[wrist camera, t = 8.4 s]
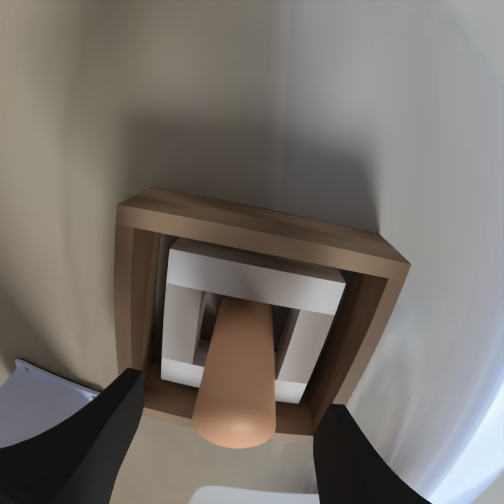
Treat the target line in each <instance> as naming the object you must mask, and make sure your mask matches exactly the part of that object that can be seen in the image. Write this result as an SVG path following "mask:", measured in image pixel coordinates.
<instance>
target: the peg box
mask: <svg viewBox="0 0 504 504" xmlns="http://www.w3.org/2000/svg"><path fill="white" fill-rule="evenodd" d="M161 233H164V234H169V235H174V236H179V238H178V239H177V240H176V242H175V243H174V244H173V245H172V247H171V248H170V250H169V260H168V271H167V282H166V294H165V307H164V322H163V340H162V364H160V363H156V362H153V345H154V317H155V298H156V282H157V269H158V257H159V246H160V236H161ZM410 266H411V264H410V263H409V262H408V261H407V260H406V259H405V258H404V257H403V256H402V255H401V254H400V253H399V252H398V251H397V250H396V249H395V248H394V247H393V246H391V245H390V244H389V243H388V242H387V241H386V240H385V239H384V238H383V237H382V236H381V235H378V234H374V233H370V232H366V231H362V230H358V229H354V228H349V227H345V226H341V225H336V224H332V223H328V222H323V221H319V220H314V219H310V218H305V217H301V216H296V215H292V214H287V213H282V212H278V211H273V210H268V209H263V208H258V207H253V206H248V205H243V204H238V203H233V202H228V201H223V200H217V199H212V198H207V197H201V196H196V195H190V194H185V193H179V192H173V191H167V190H161V189H156V188H150V189H148V190H146V191H143V192H141V193H139V194H137V195H135V196H133V197H131V198H129V199H127V200H125V201H123V202H121V203H119V204H117V216H116V233H115V262H114V303H115V331H116V349H117V362H118V374H119V375H120V374H121V373H122V372H123V371H124V370H125V369H127V368H128V367H129V368H132V369H136V370H139V371H143V374H144V404H145V406H144V409H143V412H142V415H145V416H148V417H152V418H156V419H160V420H163V421H167V422H171V423H175V424H180V425H184V426H189V427H193V425H192V416H193V412H194V408H195V404H196V400H197V395H198V391H199V387H200V383H201V379H202V375H203V371H204V367H205V363H206V359H207V355H208V351H209V347H210V343H211V340H208V339H203V338H200V337H201V330H202V323H203V316H204V309H205V302H206V296H207V292H211V293H216V294H221V295H226V296H231V297H236V298H241V299H246V300H251V301H257V302H262V303H267V304H273V305H278V306H284V307H289V311H288V315H287V318H286V321H285V325H284V328H283V331H282V335H281V338H280V341H279V344H278V348H277V351H276V352H274V368H275V410H276V429H275V432H274V434H273V436H272V437H271V438H270V439H269V440H275V441H285V442H297V443H313V433H314V431H315V430H316V428H317V426H318V424H319V423H320V421H321V419H322V417H323V415H324V414H325V412H326V410H327V408H328V406H329V404H344V405H346V404H347V402H348V400H349V398H350V397H351V395H352V393H353V391H354V389H355V387H356V386H357V384H358V382H359V380H360V378H361V376H362V374H363V372H364V371H365V369H366V367H367V365H368V363H369V361H370V359H371V357H372V355H373V353H374V351H375V348H376V346H377V344H378V342H379V340H380V338H381V336H382V334H383V331H384V329H385V327H386V325H387V323H388V320H389V318H390V316H391V313H392V311H393V309H394V306H395V304H396V302H397V299H398V297H399V294H400V292H401V289H402V287H403V284H404V282H405V279H406V276H407V274H408V271H409V268H410ZM338 268H339V269H344V270H349V271H354V273H353V276H352V279H351V282H350V285H349V288H348V291H347V294H346V296H345V299H344V302H343V305H342V307H341V310H340V313H339V316H338V318H337V321H336V324H335V326H334V329H333V331H332V334H331V336H330V339H329V341H328V344H327V346H326V349H325V351H324V354H323V356H322V359H321V361H320V363H319V366H318V368H317V370H316V373H315V375H314V377H313V380H312V382H311V384H310V387H309V389H308V390H305V388H306V385H307V383H308V381H309V378H310V376H311V374H312V371H313V369H314V367H315V364H316V362H317V359H318V357H319V354H320V352H321V349H322V347H323V344H324V342H325V339H326V337H327V334H328V332H329V329H330V326H331V324H332V321H333V318H334V316H335V313H336V310H337V307H338V305H339V302H340V299H341V296H342V293H343V290H344V288H345V285H346V283H345V281H344V279H343V277H342V275H341V273H340V271H339V269H338ZM193 428H194V427H193Z"/></svg>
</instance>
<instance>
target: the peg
mask: <svg viewBox="0 0 504 504" xmlns="http://www.w3.org/2000/svg"><path fill="white" fill-rule="evenodd" d="M192 425H193V427H194V429H195V431H196V432H197V433H198V434H199V435H200V436H201V437H203V438H204V439H205V440H207V441H209V442H211V443H213V444H216V445H219V446H223V447H228V448H249V447H254V446H257V445H260V444H262V443H264V442H266V441H267V440H269V439H270V438H271V437H272V436H273V434H274V432H275V429H276V410H275V368H274V334H273V310H272V306H271V304H267V303H262V302H257V301H251V300H246V299H241V298H236V297H231V296H226V297H225V298H224V299H223V300H222V302H221V304H220V307H219V311H218V315H217V319H216V323H215V327H214V331H213V335H212V339H211V343H210V347H209V351H208V355H207V359H206V363H205V367H204V371H203V375H202V379H201V383H200V387H199V391H198V395H197V400H196V404H195V408H194V412H193V416H192Z"/></svg>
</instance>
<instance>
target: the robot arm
mask: <svg viewBox="0 0 504 504" xmlns="http://www.w3.org/2000/svg"><path fill="white" fill-rule="evenodd" d="M15 365H16V370H15V371H14V372H13V373H12V374H11V376H10V377H9V378H8V379H7V380H6V382H5V383H4V384H3V385H2V386H1V388H0V504H109V502H110V498H111V494H112V490H113V487H114V484H115V480H116V477H117V474H118V471H119V469H120V466H121V464H122V462H123V460H124V457H125V455H126V453H127V451H128V448H129V446H130V444H131V442H132V439H133V437H134V435H135V433H136V430H137V428H138V425H139V422H140V419H141V416H142V412H143V409H144V406H145V404H144V374H143V371H139V370H136V369H132V368H129V367H128V368H127V369H125V370H124V371H123V372H122V373H121V374H120V375H119V376H118V377H117V378H116V379H115V380H114V381H113V382H112V383H111V384H110V385H109V386H108V387H107V388H106V389H104V390H103V391H102V392H101V393H100V392H97V391H94V390H92V389H89V388H86V387H83V386H81V385H78V384H76V383H73V382H70V381H68V380H65V379H63V378H61V377H58V376H56V375H53V374H51V373H49V372H46V371H44V370H42V369H40V368H38V367H35V366H33V365H31V364H29V363H27V362H25V361H23V360H21V359H16V360H15ZM313 456H314V464H315V471H316V478H317V485H318V492H319V499H320V504H432V503H430V502H429V501H427V500H426V499H424V498H423V497H422V496H420V495H419V494H418V493H416V492H415V491H414V490H413V489H412V488H410V487H409V486H408V485H407V484H406V483H405V482H404V481H402V480H401V479H400V478H399V477H398V476H397V475H396V474H395V473H394V472H393V471H392V470H391V468H390V467H389V466H388V465H387V464H386V463H385V462H384V460H383V459H382V458H381V457H380V455H379V454H378V453H377V452H376V450H375V449H374V448H373V446H372V445H371V444H370V442H369V441H368V439H367V438H366V437H365V435H364V434H363V432H362V431H361V429H360V428H359V426H358V425H357V423H356V422H355V420H354V419H353V417H352V416H351V414H350V413H349V411H348V410H347V408H346V406H345V405H344V404H329V406H328V408H327V410H326V412H325V414H324V415H323V417H322V419H321V421H320V423H319V424H318V426H317V428H316V430H315V431H314V433H313Z"/></svg>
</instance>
